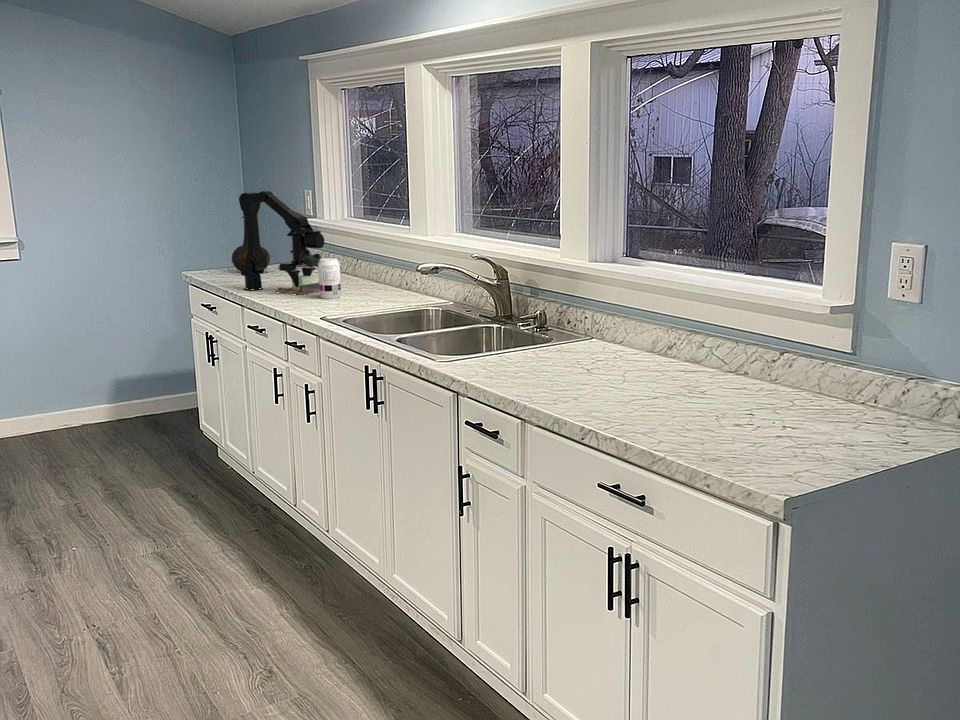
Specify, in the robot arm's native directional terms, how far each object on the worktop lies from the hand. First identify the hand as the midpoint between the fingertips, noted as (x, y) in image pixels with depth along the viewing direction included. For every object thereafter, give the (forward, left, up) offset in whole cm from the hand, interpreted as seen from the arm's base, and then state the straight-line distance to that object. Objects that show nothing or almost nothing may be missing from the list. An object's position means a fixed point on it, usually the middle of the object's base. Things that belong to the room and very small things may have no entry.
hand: (302, 286), depth 383 cm
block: (0, 0, -1) cm, 1 cm away
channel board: (-2, 0, -3) cm, 3 cm away
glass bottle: (-70, +35, -3) cm, 78 cm away
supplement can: (+19, -4, -3) cm, 20 cm away
